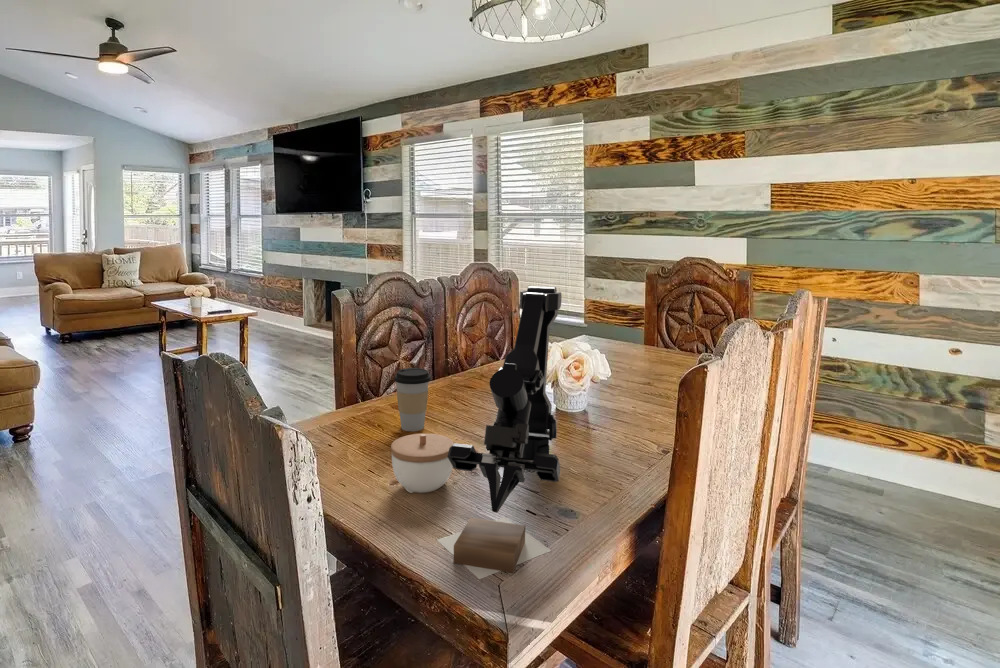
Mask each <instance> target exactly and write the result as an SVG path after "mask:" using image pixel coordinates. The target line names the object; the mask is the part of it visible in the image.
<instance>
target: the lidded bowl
mask: <svg viewBox="0 0 1000 668" xmlns="http://www.w3.org/2000/svg"><path fill="white" fill-rule="evenodd" d="M454 443H455V442H454V441H453V440H452V439H451V438H449V437H448V436H446V435H442V434H436V433H413V434H408V435H405V436H404V435H403V436H400V437H399V438H396V439H395V440H393V441H392V443H391V445H390V452H391V465H392V471H393V474H394V476H395V478H396V481H397V482H398V483H399V484H400V485H401V486H402V487H403V488H404V489H405V491H406V492H408V493H409V494H413V493H420V494H423V493H430V492H434V491H436V490H438V489H440V488H441V487H443V485H445V484H446V483H447V481H448V479H449V478H450V476H451V474H452V472H453V466H452V464H451V462H450V461H449V459H448V457H447V456H448V452H449V448H450V447H451V446H452V445H453V444H454Z"/></svg>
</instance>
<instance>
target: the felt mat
mask: <svg viewBox="0 0 1000 668" xmlns="http://www.w3.org/2000/svg"><path fill="white" fill-rule="evenodd" d="M494 521H497V522H504V523H511V524H515V523H514V522H513V521H511V520H510V519H508V518H507V517H501V518H499V519H496V520H494ZM461 533H462V531H459V532H457V533H453V534H450V535H448V536H445V537H441V538H438V539H436V541H437V542H438V543H439V544H440V545H441V546H442V547H444V549H446V550H447V551H448V552H449V553H450V554H451V555H452V556H453V557H454V544H455V543H456V541H457V539H458V538H459V536H460V534H461ZM550 552H552V549H550V548H549V547H547V546H546V545H544V544H543V543H542V542H540V541H539V540H538V539H536V538H534V537H533V536H532V535H530V534H529V533H527V532H526V531H525V543H524V546H523V549H522V551H521V554H520V556H519V559H518V562H517V564H516V566H517V565H519V564H522V563H524V562H525V563H526V562H527V561H529V560H532V559H535V558H537V557H540V556H542V555H545V554H547V553H550ZM463 566H464V567H466V569H468V570H469V572H470V573H472V575H474V576H475V577H476V578H477V579H478V580H481V579H484V578H486V577H489V576H491V575H492V576H493V575H494V574H497V573H499V572H500V571H499V570H493V569H487V568H481V567H474V566H468V565H463Z"/></svg>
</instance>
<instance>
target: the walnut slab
mask: <svg viewBox="0 0 1000 668" xmlns="http://www.w3.org/2000/svg"><path fill="white" fill-rule="evenodd" d="M461 532H462V533H461V534H460V536H459V538H458V539H457V541H456V543H455V544H454V556H453V564H456V565H457V564H458V565H463V566H464V565H468V566H474V567H481V568H487V569H493V570H499V572H506V573H511V574H512V573H515V569H516V567H517V565H518V564H517V562H518V559H519V556H520V554H521V551H522V549H523V546H524V543H525V532H526V525H525V524H524V525H523V524H518V523H514V524H511V523H504V522H497V521H495V520H489V519H483V518H482V519H481V518H475V517H469V519H468V521H467V522H466V524H465V526H464V528H463V530H462V531H461ZM516 564H517V565H516Z"/></svg>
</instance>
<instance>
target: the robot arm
mask: <svg viewBox="0 0 1000 668" xmlns="http://www.w3.org/2000/svg"><path fill="white" fill-rule="evenodd" d="M557 290H558V289H557V287H556V286H542V285H541V286H539V285H528V287H527V290H520V293H519V309H522V310H521V314H520V319H519V324H518V328H517V333H516V338H515V343H514V347H513V348H512V350H511V351H510V352H508V353H506V355H505V357H504V360H503V365H502V366H500V368H499V369H498V370H497V371H495V372H494V374H492V376H491V378H490V379H489V387H490V392H491V395H492V398H493V400H494V404H495V407H496V408H497V414H496V418H495V421H493V422H494V423H493V425H489V424H487V425H485V432H484V442H483V445H485V449H486V451H489V452H488V453H487V452H477V451H476V449H475V446H474V445H472V444H466V443H465V444H464V443H456V442H454V444H453V445H452V446H451V447H450V448H449V452H448V456H447V457H448V459H449V461H450V462H451V464H452V466H453V467H452V469H455V470H456V471H457V470H458V471H465V472H473V471H474V470H476V469H477V467H479V469H480V472H481V474H482V475H483V478H486V479H487V481H488V486H489V493H490V494H489V495H490V497H489V498H490V505H491V511H492V513H498V512H500V510H501V508H502V507H503V505H504V503H505V502H506V500H507V499H508V497H509V496H510V494H512V491H514V490H515V488H516V487H518V485H519V484H520V483H525V481H526V477H525V476H526V471H528V472H529V471H530V472H536V476H537V477H538V479H540V481H545V482H553V483H556V482H557V483H558V482H559V481H560V474H561V465H560V461H559V458H558V456H557V454H555V453H554V454H553V453H550V441H551V442H552V441H553V439H554V440H555V439H557V435H558V434H557V421H556V419H555V415H554V413H552V407H553V405H552V402H551V401H550V399H549V398H548V395H547V393H546V390H547V389H546V387H547V375H548V374H547V373H548V371H547V370H548V359H549V358H548V357H549V345H550V344H549V341H550V330H551V329H550V327H551V326H552V324H553V323H554V322H555V320H556V318H557V317H558V315H559V313H558V312H559V310H560V309H561V308H562V307H561V306H562V297H563V296H562V292H561V291H557ZM500 468H503V469H502V471H503V473H502V477H501V474H500V472H499V470H500Z"/></svg>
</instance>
